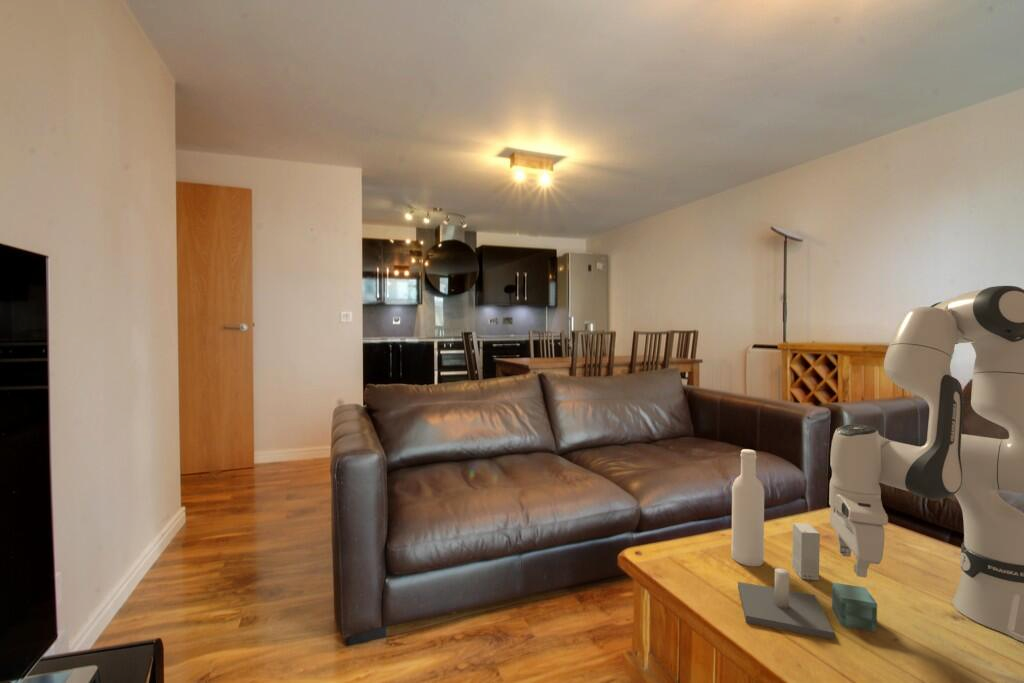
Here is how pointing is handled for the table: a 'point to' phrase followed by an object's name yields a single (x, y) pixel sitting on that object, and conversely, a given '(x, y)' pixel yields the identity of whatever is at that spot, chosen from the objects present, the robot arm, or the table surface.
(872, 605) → the sage green cube
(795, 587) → the table surface
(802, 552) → the skincare box
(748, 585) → the post block
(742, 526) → the bottle
